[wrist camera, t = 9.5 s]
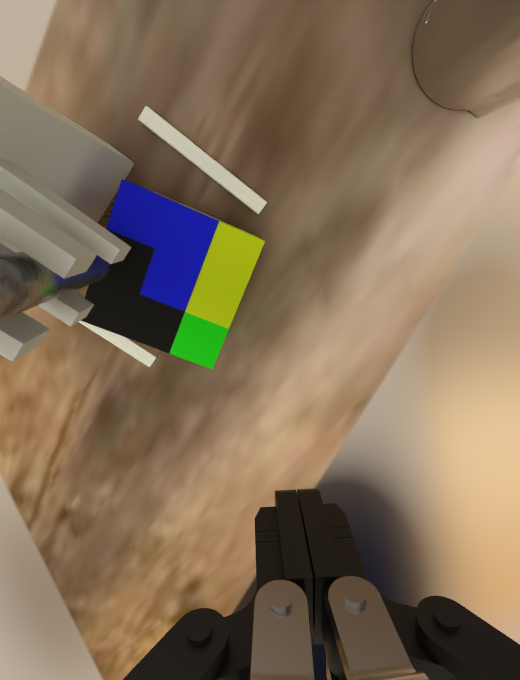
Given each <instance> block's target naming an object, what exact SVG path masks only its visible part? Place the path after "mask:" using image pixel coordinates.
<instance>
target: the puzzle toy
mask: <svg viewBox="0 0 520 680" xmlns="http://www.w3.org/2000/svg"><path fill="white" fill-rule="evenodd" d="M106 230H108V231H109V232H111V233H112V234H113V235H115V236H116V237H118V238H119V239H120V240H122V241H123V242H125V243H126V244H128V245H129V246H130V247H131V249H130V251H129V252H128V254H127V255H126V257H125V258H124V260H123V261H120V262H116V263H113V264H110V263H109V268H108V272H107V274H106V275H105V277H104V278H103V279H101V280H99V281H97V282H94V283H92V284H90V285H89V287H88V290H87V293H86V297H85V299H86V300H88V301H89V302H91V303H92V304H94V306H93V307H92V309H91V310H90V312H89V313H88V315H87V316H86V317H85V318H84V319H82V320H80V321H83V322H86V323H88V324H91V325H94V326H96V327H99V328H102V329H105V330H107V331H110V332H113V333H115V334H118V335H121V336H123V337H126V338H129V339H132V340H134V341H137V342H140V343H142V344H145V345H148V346H150V347H153V348H156V349H159V350H161V351H164V352H167V353H169V354H172V355H175V356H177V357H180V358H183V359H186V360H188V361H191V362H194V363H196V364H199V365H202V366H204V367H207V368H210V369H213V366H214V364H215V361H216V359H217V357H218V354H219V352H220V349H221V347H222V344H223V342H224V340H225V337H226V335H227V332H228V330H229V327H230V325H231V323H232V320H233V318H234V315H235V313H236V310H237V308H238V306H239V303H240V301H241V298H242V296H243V293H244V291H245V289H246V286H247V284H248V281H249V279H250V276H251V274H252V272H253V269H254V267H255V264H256V262H257V259H258V257H259V255H260V252H261V250H262V247H263V245H264V242H265V241H264V240H262V239H261V238H259V237H257V236H255V235H253V234H250V233H248V232H246V231H243V230H241V229H239V228H237V227H234V226H232V225H230V224H227V223H225V222H223V221H220V220H218V219H216V218H214V217H211V216H209V215H207V214H204V213H202V212H200V211H197V210H195V209H193V208H191V207H188V206H186V205H184V204H181V203H179V202H177V201H174V200H172V199H170V198H167V197H165V196H163V195H161V194H158V193H156V192H154V191H151V190H149V189H146V188H143V187H141V186H138V185H136V184H133V183H131V182H128V181H126V180H123V179H122V180H121V183H120V186H119V190H118V193H117V196H116V199H115V202H114V206H113V209H112V212H111V215H110V219H109V222H108V225H107V228H106Z"/></svg>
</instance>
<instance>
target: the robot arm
mask: <svg viewBox="0 0 520 680" xmlns="http://www.w3.org/2000/svg"><path fill="white" fill-rule="evenodd" d="M413 65H414V71H415V75H416V77H417V80H418V82H419V85H420V86H421V88H422V89H423V91H424V92H425V94H426V95H427V96H428V97H429V98H430V99H431V100H432V101H433V102H435V103H437V104H438V105H440V106H442V107H444V108H448V109H452V110H467V111H470V112H472V113H473V114H474V115H475V116H476V117H481V116H483V115H485V114H488V113H490V112H492V111H494V110H497V109H499V108H501V107H503V106H506V105H508V104H510V103H512V102H515V101H517V100H519V99H520V0H433V1H432V3H431V4H430V5H429V6H428V7H427V9H426V11H425V12H424V14H423V16H422V17H421V19H420V22H419V24H418V27H417V30H416V32H415V37H414V42H413ZM255 542H256V573H257V589H256V593H255V595H254V597H253V599H252V601H251V602H250V603H249V604H248V605H247V606H246V607H245V608H243V609H242V610H241V611H238V612H237V613H234V614H232V615H229V616H226V617H223V616H222V615H221V614H220V613H219V612H217V611H215V610H213V609H208V608H200V609H196V610H192V611H190V612H188V613H187V614H185V615H184V616H183V617H182V618H181V619H180V620H179V621H178V622H177V623H176V624H175V625H174V626H173V627H172V628H171V629H170V630H169V631H168V632H167V633H166V634H165V636H164V637H163V638H162V639H161V640H160V641H159V642H158V643H157V644H156V645H155V646H154V647H153V648H152V649H151V650H150V651H149V652H148V654H147V655H146V656H145V657H144V658H143V659H142V660H141V661H140V662H139V663H138V664H137V665H136V666H135V667H134V668H133V669H132V670H131V672H130V673H129V674H128V675H127V676H126V677H125V678H124V679H123V680H314V673H313V661H312V650H311V645H312V643H313V642H312V641H313V636H312V635H314V642H315V644H324V645H325V651H326V656H327V678H328V680H520V645H519V644H518V643H516V642H515V641H513V640H512V639H510V638H509V637H507V636H506V635H505V634H503V633H502V632H500V631H499V630H497V629H496V628H494V627H493V626H491V625H490V624H488V623H487V622H485V621H484V620H482V619H481V618H479V617H478V616H476V615H475V614H473V613H472V612H470V611H469V610H468V609H466V608H465V607H463V606H462V605H460V604H459V603H457V602H455V601H453V600H451V599H448V598H446V597H442V596H429V597H426V598H424V599H423V600H422V601H420V603H419V604H418V606H417V608H416V607H412V606H408V605H404V604H399V603H396V602H393V601H391V600H388V599H387V598H385V597H383V596H382V595H381V594H379V592H378V590H377V589H376V588H375V587H374V586H373V585H372V584H371V583H370V582H369V580H368V578H367V575H366V572H365V569H364V566H363V564H362V561H361V558H360V555H359V552H358V549H357V546H356V544H355V541H354V539H353V535H352V532H351V529H350V527H349V523H348V520H347V518H346V515H345V513H344V512H343V511H342V510H341V509H340V508H339V507H338V506H337V505H336V504H323V502H322V499H321V495H320V492H319V489H318V488H317V489H297V492H296V490H279V491H275V507H261V508H260V510H259V512H258V513H257V515H256V517H255Z"/></svg>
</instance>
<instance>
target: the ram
mask: <svg viewBox="0 0 520 680" xmlns="http://www.w3.org/2000/svg"><path fill="white" fill-rule="evenodd" d="M108 268H109V263H108V262H107V261H105V260H104V259H102V258H101V257H99V256H98V255H97V256H96V257H95V259H94V260H93V262H92V264H91V265H90V267H89V268H88V270H87V271H86V272H84V273H81V274H78V275H75V276H71V277H68V278H65V279H64V278H62V277H61V276H59V275H58V274H56V273H55V272H53V271H52V270H50V269H48V268H47V267H45V266H44V265H42V264H41V263H39V262H38V261H36V260H35V259H33V258H32V257H30V256H29V255H27V254H26V253H24V252H15V253H7V254H0V320H2V319H5V318H7V317H10V316H12V315H15V314H17V313H20V312H22V311H25V310H27V309H30V308H32V307H35V306H37V305H40V304H42V303H45V302H47V301H50V300H52V299H55V298H57V297H60V296H62V295H65V294H67V293H70V292H72V291H75V290H77V289H80V288H82V287H85V286H87V285H90V284H92V283H94V282H97V281H99V280H101V279H103V278H104V277H105V275H106V274H107V272H108Z"/></svg>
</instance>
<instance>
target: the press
mask: <svg viewBox="0 0 520 680" xmlns="http://www.w3.org/2000/svg"><path fill="white" fill-rule="evenodd" d="M138 120H139V121H140V122H141V123H142V124H143V125H144V126H145V127H147V128H148V129H149V130H151V131H152V132H153V133H154V134H156V135H157V136H158V137H159V138H161V139H162V140H163V141H165V142H166V143H167V144H168V145H170V146H171V147H172V148H173V149H175V150H176V151H177V152H178V153H180V154H181V155H182V156H184V157H185V158H186V159H187V160H189V161H190V162H191V163H192V164H194V165H195V166H196V167H198V168H199V169H200V170H201V171H203V172H204V173H205V174H206V175H208V176H209V177H210V178H211V179H213V180H214V181H215V182H217V183H218V184H219V185H220V186H222V187H223V188H224V189H225V190H227V191H228V192H229V193H231V194H232V195H233V196H234V197H236V198H237V199H238V200H239V201H241V202H242V203H243V204H244V205H246V206H247V207H248V208H250V209H251V210H252V211H253V212H255V213H256V214H257V215H258V214H259V213H260V212H261V210H262V209H263V208H264V206H265V205H266V203H267V202H266V201H265V200H263V199H262V198H261V197H260V196H258V195H257V194H256V193H255V192H253V191H252V190H251V189H250V188H248V187H247V186H246V185H245V184H243V183H242V182H241V181H240V180H238V179H237V178H236V177H235V176H233V175H232V174H231V173H230V172H228V171H227V170H226V169H225V168H223V167H222V166H221V165H220V164H218V163H217V162H216V161H215V160H213V159H212V158H211V157H210V156H208V155H207V154H206V153H205V152H203V151H202V150H201V149H200V148H198V147H197V146H196V145H195V144H193V143H192V142H191V141H190V140H188V139H187V138H186V137H185V136H184V135H182V134H181V133H180V132H179V131H177V130H176V129H175V128H174V127H172V126H171V125H170V124H169V123H167V122H166V121H165V120H164V119H162V118H161V117H160V116H159V115H157V114H156V113H155V112H154V111H152V110H151V109H150V108H149V107H147V106H146V107H145V108H144V110H143V111H142V113H141V115H140V116H139V118H138ZM134 164H135V163H133V162H132V161H131V160H129V159H128V158H127V157H125V156H124V155H123V154H122V153H120V152H119V151H118V150H116V149H115V148H114V147H112V146H111V145H110V144H108V143H107V142H105V141H103V140H102V139H100V138H98V137H97V136H95V135H94V134H92V133H90V132H89V131H87V130H86V129H84V128H82V127H81V126H79V125H78V124H76V123H74V122H73V121H71V120H70V119H68V118H66V117H65V116H63V115H61V114H60V113H58V112H57V111H55V110H53V109H52V108H50V107H49V106H47V105H45V104H44V103H42V102H41V101H39V100H37V99H36V98H34V97H33V96H31V95H29V94H28V93H26V92H25V91H23V90H21V89H20V88H18V87H16V86H15V85H13V84H12V83H10V82H8V81H7V80H5V79H4V78H2V77H0V254H7V253H15V252H24V253H26V254H27V255H29V256H30V257H32V258H33V259H35V260H36V261H38V262H39V263H41V264H42V265H44V266H45V267H47V268H48V269H50V270H52V271H53V272H55V273H56V274H58V275H59V276H61V277H62V278H64V279H65V278H68V277H71V276H75V275H78V274H81V273H84V272H86V271H87V270H88V268H89V267H90V265H91V264H92V262H93V260H94V259H95V257H96V256H97V255H98V256H99V257H101V258H102V259H104V260H105V261H107V262H108V263H110V264H113V263H116V262H120V261H123V260H124V258H125V257H126V255H127V254H128V252H129V251H130V249H131V247H130V246H129V245H128V244H126V243H125V242H123V241H122V240H120V239H119V238H118V237H116V236H115V235H113V234H112V233H111V232H109V231H108V230H106V229H105V228H103V227H102V226H101V225H99V224H98V222H99V220H100V219H101V217H102V216H103V214H104V212H105V211H106V209H107V208H108V206H109V204H110V203H111V201H112V199H113V198H114V196H115V195H116V193H117V191H118V190H119V186H120V183H121V180H122V179H123V180H125V179H126V177H127V175H128V174H129V172H130V171H131V169H132V167H133V166H134ZM38 306H39V307H41V308H42V309H44V310H45V311H47V312H49V313H50V314H52V315H53V316H55V317H57V318H58V319H60V320H61V321H63V322H64V323H66V324H68V325H69V326H72V325H74V324H75V323H77V322H80V323H81V324H83V325H84V326H86V327H87V328H89V329H90V330H92V331H94V332H95V333H97V334H98V335H100V336H101V337H103V338H104V339H106V340H108V341H109V342H111V343H112V344H114V345H115V346H117V347H119V348H120V349H122V350H123V351H125V352H126V353H128V354H129V355H131V356H133V357H134V358H136V359H137V360H139V361H140V362H142V363H143V364H145V365H147V366H148V367H150V366H151V364H152V363H153V362H154V360H155V359H156V357H157V356H158V354H159V353H160V350H158V349H156V348H153V347H150V346H148V345H145V344H142V343H140V342H137V341H134V340H132V339H129V338H126V337H123V336H121V335H118V334H115V333H113V332H110V331H107V330H105V329H102V328H99V327H96V326H94V325H91V324H88V323H86V322H83V321H80V320H82V319H84V318H85V317H86V316H87V315H88V313H89V312H90V310H91V309H92V307H93V306H94V304H92V303H91V302H89V301H88V300H86V299H85V298H83V297H82V296H80V295H79V294H77V293H76V292H74V291H72V292H70V293H67V294H65V295H62V296H60V297H57V298H55V299H52V300H50V301H47V302H45V303H42V304H40V305H38ZM49 330H50V329H48V328H47V327H45V326H44V325H42V324H41V323H39V322H37V321H36V320H34V319H33V318H31V317H29V316H28V315H26V314H25V313H23V312H20V313H17V314H15V315H12V316H10V317H7V318H5V319H2V320H0V355H2V356H4V357H5V358H7V359H9V360H10V361H12V362H13V361H14V360H16V359H18V358H19V357H21V356H23V355H24V354H26V353H27V352H29V351H31V350H32V349H34V348H36V347H37V346H39V345H40V344H41V342H42V341H43V339H44V338H45V336H46V335H47V333H48V331H49Z"/></svg>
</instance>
